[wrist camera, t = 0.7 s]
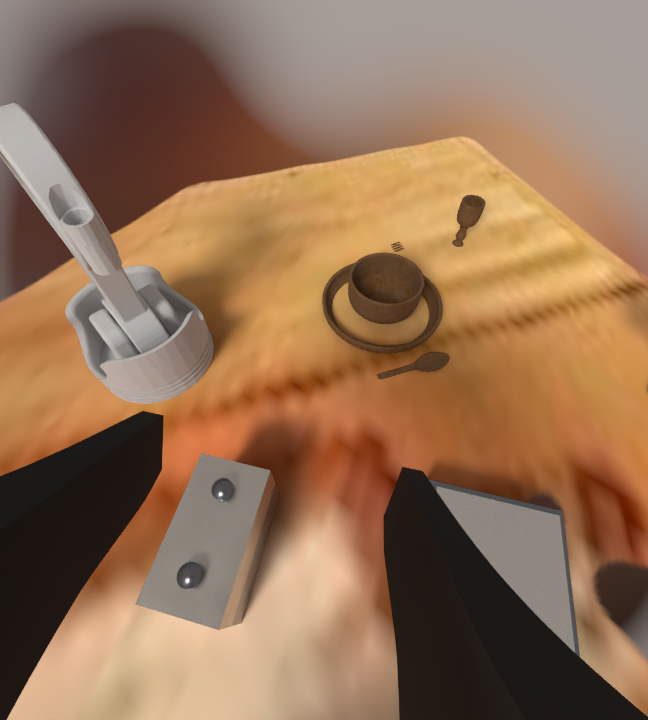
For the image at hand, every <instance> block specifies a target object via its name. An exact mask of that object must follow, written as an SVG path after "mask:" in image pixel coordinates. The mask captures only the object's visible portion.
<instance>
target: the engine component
mask: <svg viewBox="0 0 648 720" xmlns="http://www.w3.org/2000/svg"><path fill="white" fill-rule="evenodd" d="M0 156H1V157H2V158H3V160H4V161H5V163H6V164H7V166H8V167H9V169H10V170H11V171H12V173H13V174H14V175H15V177H16V178H17V179H18V181H19V182H20V184H21V185H22V186H23V188H24V189H25V191H26V192H27V193H28V195H29V196H30V197H31V198H32V200H33V201H34V203H35V204H36V205H37V207H38V208H39V209H40V211H41V212H42V213H43V215H44V216H45V217H46V219H47V220H48V221H49V223H50V224H51V226H52V227H53V228H54V229H55V231H56V232H57V233H58V235H59V236H60V237H61V239H62V240H63V241H64V243H65V244H66V246H67V247H68V248H69V250H70V251H71V253H72V254H73V255H74V257H75V258H76V260H77V261H78V262H79V264H80V265H81V267H82V268H83V269H84V271H85V272H86V273H87V275H88V276H89V278H90V279H91V280H92V282H90V283H89V284H88V285H86V286H85V287H83V288H82V289H81V290H80V291H79V292H78V293H77V294H76V295H75V296H74V297H73V298H72V299H71V301H70V302H69V303H68V305H67V307H66V317H67V319H68V321H69V322H70V323H71V324H72V325H73V327H74V328H75V330H76V332H77V334H78V337H79V340H80V343H81V347H82V350H83V354H84V357H85V361H86V363H87V365H88V367H89V369H90V370H91V372H92V373H93V374H94V375H95V376H96V377H97V378H98V379H99V380H100V381H101V382H102V383H103V384H104V385H105V386H106V387H107V388H108V389H109V390H110V391H111V392H112V393H114V394H115V395H116V396H118V397H119V398H121V399H123V400H125V401H129V402H133V403H139V404H148V403H157V402H162V401H166V400H169V399H171V398H174V397H177V396H178V395H180V394H182V393H184V392H186V391H187V390H189V389H190V388H191V387H192V386H194V385H195V384H196V383H197V382H198V381H199V380H200V379H201V378H202V377H203V376H204V374H205V373H206V371H207V370H208V368H209V366H210V364H211V362H212V358H213V354H214V344H213V340H212V336H211V334H210V332H209V329H208V327H207V324H206V322H205V320H204V317H203V315H202V313H201V311H200V310H199V308H198V307H197V306H196V305H195V304H193V303H192V302H191V301H189V300H188V299H186V298H185V297H183V296H182V295H181V294H179V293H178V292H176V291H175V290H174V289H173V288H171V287H170V286H169V285H168V284H167V283H166V282H165V281H164V280H163V278H162V276H161V274H160V272H159V271H158V270H157V269H155V268H153V267H151V266H133V267H127V268H122V266H121V265H122V263H121V259H120V257H119V256H118V251H117V248H116V246H115V243H114V241H113V239H112V237H111V235H110V234H109V232H108V230H107V228H106V226H105V224H104V223H103V221H102V219H101V218H100V216H99V214H98V212H97V211H96V209H95V208H94V206H93V204H92V203H91V201H90V199H89V198H88V196H87V195H86V193H85V191H84V190H83V189H82V187H81V186H80V184H79V182H78V181H77V179H76V178H75V176H74V175H73V174H72V172H71V170H70V169H69V167H68V166H67V165H66V163H65V162H64V160H63V159H62V157H61V156H60V154H59V153H58V152H57V150H56V149H55V147H54V146H53V145H52V143H51V142H50V140H49V139H48V138H47V136H46V135H45V134H44V133H43V131H42V130H41V129H40V127H39V126H38V125H37V124H36V122H35V121H34V120H33V119H32V117H31V116H30V115H29V114H28V113H27V112H26V111H25V110H24V109H23V108H22V107H21V106H19V105H18V104H14V103H12V104H8V105H5V106H1V107H0Z"/></svg>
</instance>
